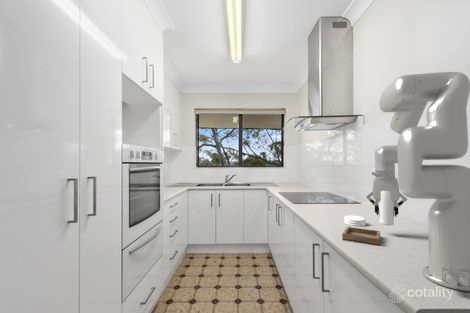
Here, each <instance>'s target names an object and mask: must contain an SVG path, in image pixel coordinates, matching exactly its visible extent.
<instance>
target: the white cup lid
mask: <svg viewBox="0 0 470 313" xmlns="http://www.w3.org/2000/svg"><path fill="white" fill-rule="evenodd" d="M366 220H367V219H366V218H365V217H363V216H360V215H346V216H344V224H345V225H348V226H350V227H365V226H366V225H367V224H366V223H367V221H366Z"/></svg>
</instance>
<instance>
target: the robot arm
mask: <svg viewBox="0 0 470 313" xmlns="http://www.w3.org/2000/svg"><path fill="white" fill-rule="evenodd" d="M469 97H470V79H469V77H468V75H466V74H465V73H463V72H459V71H442V72H429V73H427V72H426V73H414V74H405V75H401V76H398V77H397V78H395V79H394V80H393V81H392V82H391V83H390V84H388V86H386V88H385V89H384V90H383V92H382V93H381V95H380V97H379V109H380V110H381V112H382V113H393V114H392V115H393V116H392V118H391V121H390V123H389V126H390V128H391V130H392V131H393V132H395V133H397V134H399V137H398V139H397V145H381V146H380V147H378V148H376V149H375V150H374V159H375V160H374V161H375V162H374V163H375V164H374V168H375V171H373V172H371V175H372V176H375V177H373V178H372V179H373V180H372V191H371V192H370V193H369V194H368V195H366V199H367V200H368V201H369V202H370V203H371V204H372V205H373V206H374V213H375V214H376V216H379V209H378V200H381V191H391V201H394V204H395V207H394V218H396V217H397V216H399V207H401V206H402V205H403V204H404V203H406V202H407V201H408V199H407V198H410V199H420V200H423V199H424V200H429V199H430V200H435V201H433V203H432V205H431V206H430V208H429V210H428V215H427V218H428V220H427V227H428V265H427V266H424V267H422V269H421V271H422V275H423V276H424V277H425V278H426V279H428V280H429V281H430V282H432V283H435V284H438V285H441V286H442V287H446V288H449V289H452V290H453V289H454V290H458V291H464V292H470V168H469V166H468V167H467V166H464V165H459V164H423V163H424V162H423V161H431V160H432V161H434V160H435V161H441V160H443V161H445V160H446V161H450V160H458V159H461V158H463V157H465V155H467V153H468V150H469V131H468V130H469V129H468V114H467V113H468V112H467V106H468V101H469ZM428 102H429V103H430V102H431V104H430V105H429V106H428V107H427V111H426V126H425V125H424V126H418V125H419V123H420V121H421V118H422V116H423V114H424V111H425V109H426V106H427V104H428ZM396 164H397V173H398V174H397V177H398V178H397V177H396ZM400 199H401V200H400ZM399 200H400V201H399Z"/></svg>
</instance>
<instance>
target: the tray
mask: <svg viewBox="0 0 470 313" xmlns="http://www.w3.org/2000/svg"><path fill="white" fill-rule="evenodd" d="M341 237H342V241H346V240H347V241H346V242H352V241H353V243H358V242H359V243H358V244H365V245H372V246H378V247H379V246H380V240H381V231H380V230H375V229H367V228H360V227H354V226H346V228H345V229H344V231H343V232H342V236H341Z"/></svg>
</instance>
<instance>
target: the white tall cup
mask: <svg viewBox="0 0 470 313" xmlns="http://www.w3.org/2000/svg"><path fill="white" fill-rule="evenodd" d="M394 207H395V204H394V201H391V191H381V200H378V209H379V215H378V216H379V217H378V218H379V224H380V225H383V226H394V224H395V210H394Z"/></svg>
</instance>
